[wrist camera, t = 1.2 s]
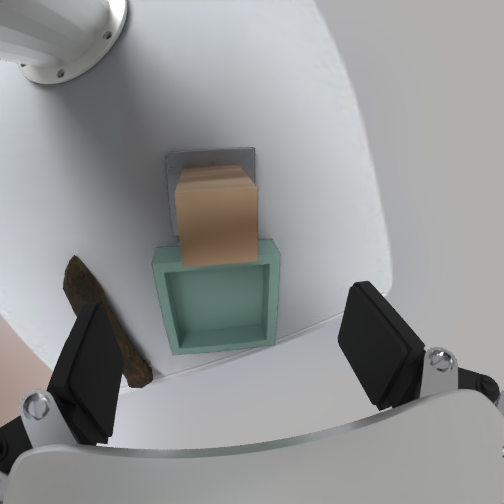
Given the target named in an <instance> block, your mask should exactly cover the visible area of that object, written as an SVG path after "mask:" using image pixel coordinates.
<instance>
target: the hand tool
mask: <svg viewBox="0 0 504 504" xmlns="http://www.w3.org/2000/svg"><path fill="white" fill-rule="evenodd" d="M63 290H64V291H65V294H66V296H67V298H68V300H69V302H70V304H71V306H72V309H73V311H74V313H75V315H76V316H77V317H78V315H79V313H80V311H81V309H82V307H83V305H84V303H96V302H98V303H100V304H101V306H104V307H105V308H106V311H107V314H108V317H109V320H110V323H111V326H112V329H113V332H114V334H115V337H116V340H117V343H118V345H119V348H120V350H121V353H122V356H123V359H124V367H123V372H122V373H123V374H124V376H125V378H126V379H127V383H128V385H129V387H131V388H143V387H145V386H146V385H147V384H149V383H150V382H152V380H153V374H152V369H151V367H149V366H147V364H146V361H145V360H142V359H141V357H140V356H139V354H138V353H137V351H136V350H135V349H134V348H133V346H132V345H131V343H130V341H129V340H128V337H127V335H126V334H125V333H124V332H123V330H122V328H121V326H120V325H119V324H118V322H117V321H116V319H115V317H114V316H113V314H112V312H111V310H110V309H109V307H108V305H107V303H106V301H105V297H104V292H103V290H102V288H101V287H100V285H99V284H98V282H97V281H96V279H95V278H94V277H93V275H92V274H91V273H90V271H89V270H88V269H87V268H86V267H85V265H84V264H83V263H82V262H81V261H80V260H79V258H78V257H77V256H75V255H74V256H73V257H72V259H71V260H70V261H69V264H68V266H67V268H66V270H65V277H64V282H63Z"/></svg>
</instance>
